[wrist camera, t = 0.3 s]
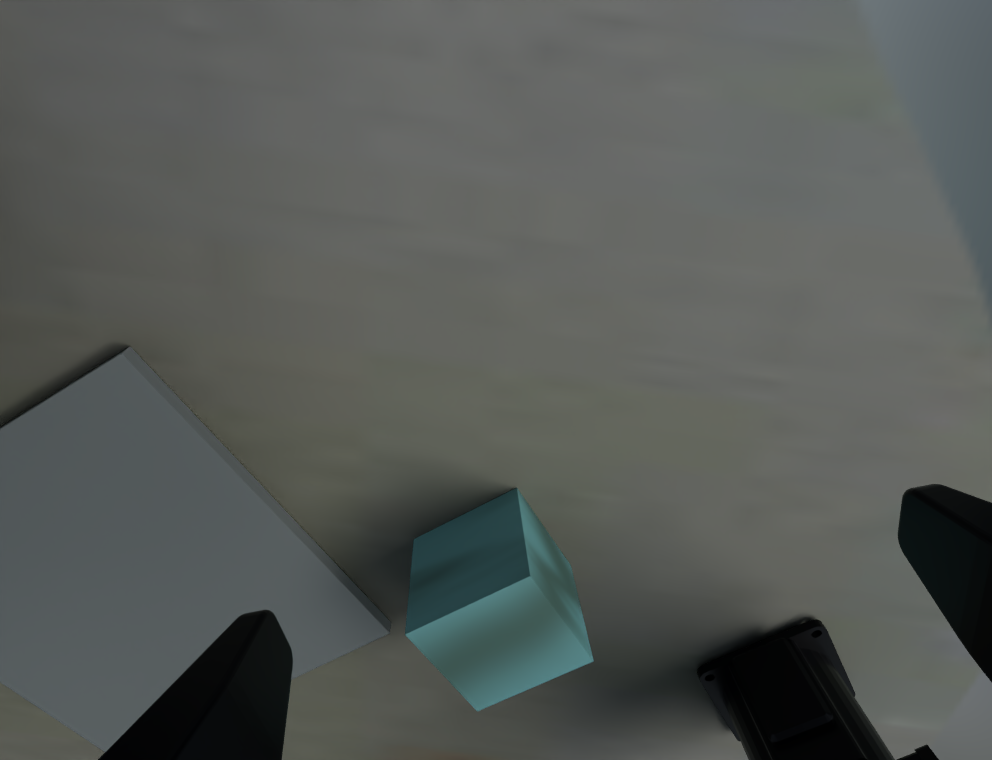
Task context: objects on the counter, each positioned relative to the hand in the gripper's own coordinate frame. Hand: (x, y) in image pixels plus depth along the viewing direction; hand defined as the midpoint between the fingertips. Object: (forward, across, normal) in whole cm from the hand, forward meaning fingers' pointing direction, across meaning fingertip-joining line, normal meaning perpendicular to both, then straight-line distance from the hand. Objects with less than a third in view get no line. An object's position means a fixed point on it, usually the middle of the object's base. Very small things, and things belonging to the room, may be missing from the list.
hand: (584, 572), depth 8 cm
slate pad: (+14, +18, +9) cm, 25 cm away
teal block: (+14, +3, +12) cm, 18 cm away
